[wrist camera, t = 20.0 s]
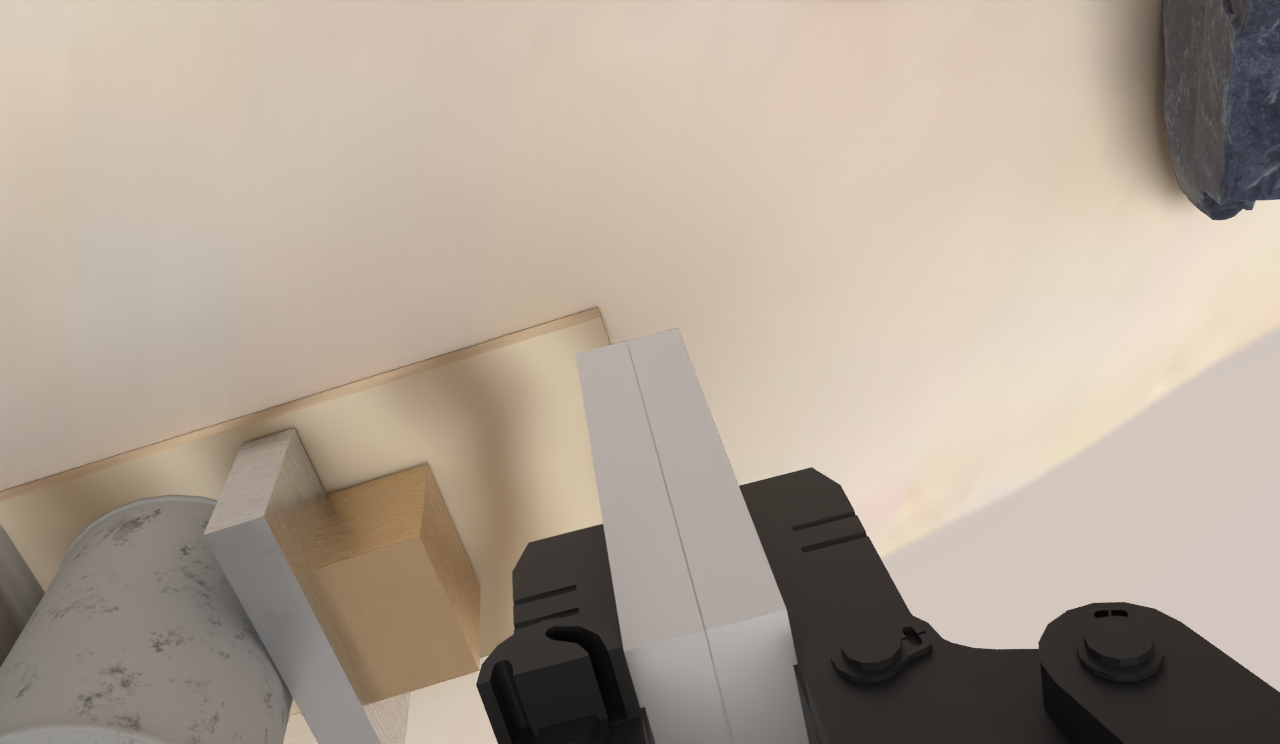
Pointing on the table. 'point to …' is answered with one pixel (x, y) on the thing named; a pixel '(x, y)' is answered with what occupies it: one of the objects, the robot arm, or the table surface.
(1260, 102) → the stone
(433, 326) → the table surface
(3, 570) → the press
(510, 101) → the table surface
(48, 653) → the gray cylinder
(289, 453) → the slide jaw
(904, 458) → the table surface
